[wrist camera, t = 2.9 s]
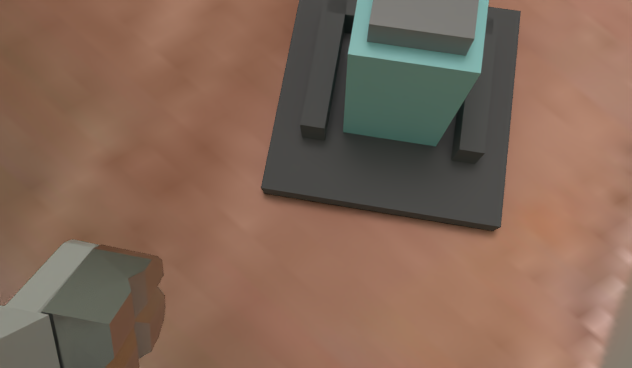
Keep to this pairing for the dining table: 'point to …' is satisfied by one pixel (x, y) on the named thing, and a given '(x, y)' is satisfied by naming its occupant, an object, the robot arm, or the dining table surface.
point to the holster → (385, 154)
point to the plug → (412, 66)
